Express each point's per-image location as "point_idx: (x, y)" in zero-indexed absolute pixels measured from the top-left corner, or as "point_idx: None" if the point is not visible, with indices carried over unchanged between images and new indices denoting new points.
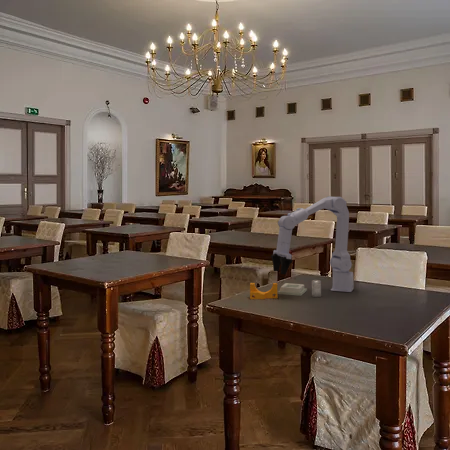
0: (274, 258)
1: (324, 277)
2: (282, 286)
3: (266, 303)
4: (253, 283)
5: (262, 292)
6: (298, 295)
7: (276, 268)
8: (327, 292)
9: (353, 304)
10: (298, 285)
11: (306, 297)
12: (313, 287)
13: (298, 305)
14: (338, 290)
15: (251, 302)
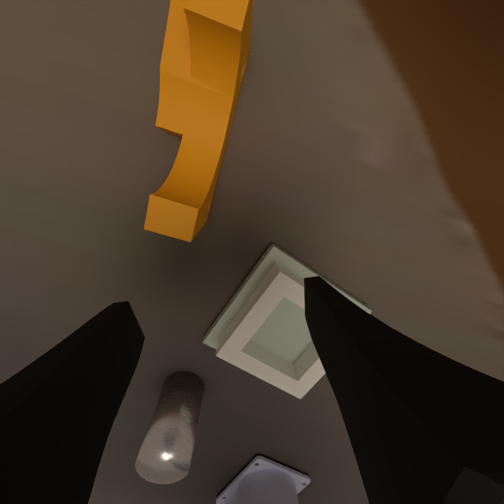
0: (399, 429)
1: None
2: (293, 288)
3: (59, 108)
4: (223, 9)
5: (210, 125)
6: (211, 326)
7: (314, 318)
8: (238, 437)
9: None
10: (303, 371)
11: (169, 346)
12: (158, 414)
13: (12, 268)
14: (240, 475)
15: (92, 6)
